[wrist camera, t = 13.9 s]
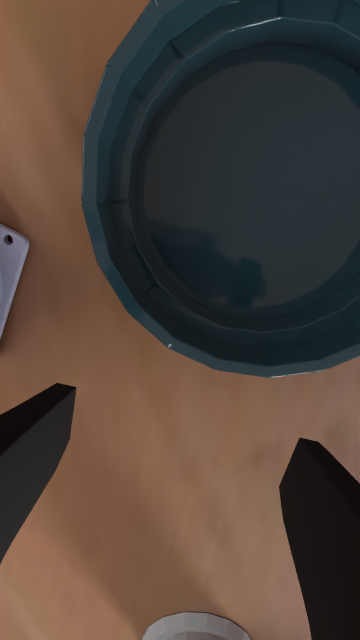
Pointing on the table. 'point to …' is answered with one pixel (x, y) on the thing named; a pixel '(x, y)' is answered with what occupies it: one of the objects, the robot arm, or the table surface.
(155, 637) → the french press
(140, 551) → the table surface
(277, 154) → the bowl
